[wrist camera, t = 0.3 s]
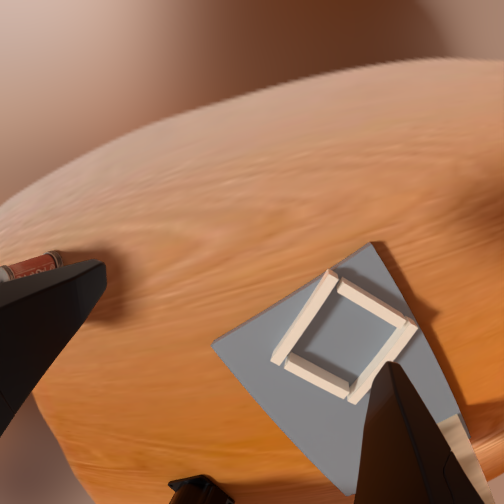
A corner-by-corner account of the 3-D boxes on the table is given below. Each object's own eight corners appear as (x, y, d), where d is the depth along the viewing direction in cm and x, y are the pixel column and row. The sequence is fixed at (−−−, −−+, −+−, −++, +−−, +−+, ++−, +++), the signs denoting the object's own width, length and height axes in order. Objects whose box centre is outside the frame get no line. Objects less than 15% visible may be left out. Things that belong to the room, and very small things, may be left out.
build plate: (346, 490, 28) (346, 496, 27) (214, 340, 27) (210, 345, 26) (468, 431, 24) (471, 437, 23) (369, 241, 23) (371, 244, 22)
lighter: (43, 249, 29) (-29, 271, 20) (64, 252, 29) (-12, 277, 19) (51, 319, 31) (-11, 354, 21) (72, 325, 30) (7, 365, 21)
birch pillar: (421, 459, 25) (441, 549, 13) (413, 434, 24) (437, 532, 13) (461, 440, 23) (493, 526, 12) (456, 413, 23) (495, 505, 11)
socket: (354, 394, 24) (355, 405, 23) (273, 351, 25) (270, 360, 24) (413, 320, 22) (418, 328, 21) (328, 268, 23) (328, 273, 21)
